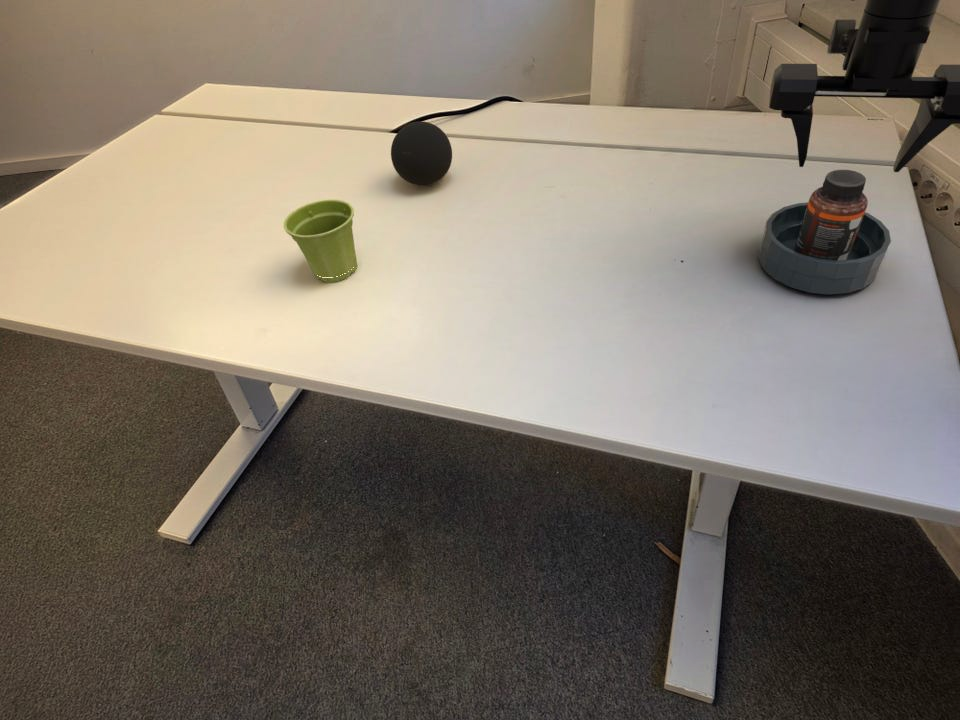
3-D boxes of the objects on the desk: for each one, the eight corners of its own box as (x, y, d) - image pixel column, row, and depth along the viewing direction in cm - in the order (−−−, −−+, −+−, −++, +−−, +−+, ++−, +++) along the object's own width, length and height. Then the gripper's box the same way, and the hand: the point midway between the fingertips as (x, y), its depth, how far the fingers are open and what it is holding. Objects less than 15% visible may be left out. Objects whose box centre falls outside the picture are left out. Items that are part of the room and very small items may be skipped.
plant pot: (302, 260, 89) (282, 208, 83) (364, 245, 90) (349, 192, 84) (305, 297, 83) (284, 243, 77) (373, 280, 84) (357, 225, 78)
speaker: (402, 202, 98) (389, 143, 92) (394, 175, 106) (381, 118, 99) (461, 189, 99) (453, 129, 92) (449, 163, 107) (440, 106, 100)
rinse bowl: (870, 240, 78) (884, 206, 74) (880, 305, 69) (896, 269, 66) (759, 231, 82) (767, 198, 78) (755, 290, 73) (764, 256, 70)
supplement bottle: (853, 274, 72) (887, 188, 65) (801, 278, 73) (828, 193, 65) (833, 246, 77) (862, 162, 69) (785, 250, 77) (808, 167, 69)
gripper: (1002, -19, 58) (935, 139, 69) (788, -12, 64) (758, 132, 75) (1032, 18, 51) (952, 187, 61) (788, 21, 57) (754, 176, 67)
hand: (847, 167), depth 66 cm, fingers open, 9 cm apart
